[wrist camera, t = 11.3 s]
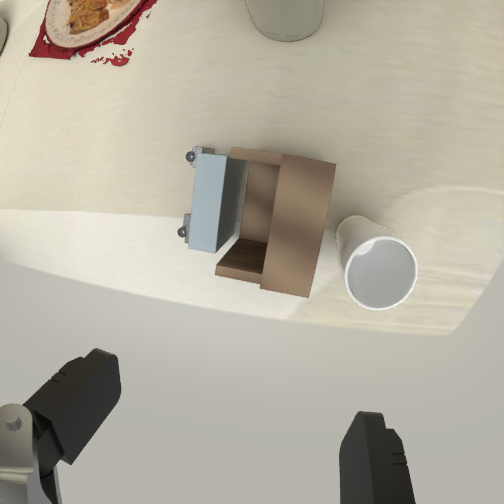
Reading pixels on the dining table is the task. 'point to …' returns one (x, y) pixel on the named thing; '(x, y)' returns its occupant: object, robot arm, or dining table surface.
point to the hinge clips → (192, 159)
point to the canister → (2, 32)
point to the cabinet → (280, 222)
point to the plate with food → (87, 26)
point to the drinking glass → (374, 263)
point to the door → (214, 201)
